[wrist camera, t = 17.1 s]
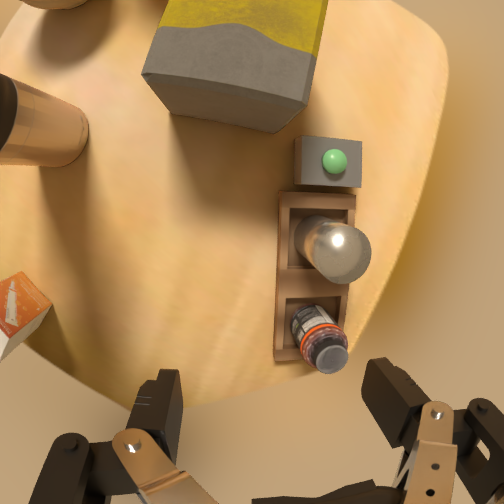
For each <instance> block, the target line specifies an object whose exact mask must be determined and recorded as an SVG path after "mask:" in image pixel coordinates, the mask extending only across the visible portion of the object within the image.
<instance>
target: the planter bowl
mask: <svg viewBox="0 0 504 504" xmlns="http://www.w3.org/2000/svg"><path fill="white" fill-rule="evenodd" d="M20 1H23V2H24V3H26V4H28V5H30V6H33V7H36V8H40V9H59V8H60V9H71V8H74V7H77V6H79V5H81V4H83V3H85V2H86V1H88V0H20Z"/></svg>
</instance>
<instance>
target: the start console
mask: <svg viewBox="0 0 504 504" xmlns="http://www.w3.org/2000/svg"><path fill="white" fill-rule="evenodd" d="M361 180H362V142H361V141H354V140H345V139H336V138H327V137H316V136H304V135H302V136H300V137H298V138H297V139H295V147H294V184H307V185H326V186H343V187H358V188H361Z"/></svg>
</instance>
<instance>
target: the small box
mask: <svg viewBox="0 0 504 504" xmlns="http://www.w3.org/2000/svg"><path fill="white" fill-rule="evenodd" d="M51 306H52V303H51V302H50V301H49V300H48V299H47V298H46V297H45V296H44V295H43V294H42V293H41V292H40V291H39V290H38V289H37V288H36V287H35V286H34V285H33V283H32V282H31V281H30V280H29V279H28V278H27V277H26V275H25V274H24V273H23V272H22V271H20V272H18V273H16V274H14V275H12V276H10V277H8V278H6V279H4V280H3V281H1V282H0V362H1V361H2V360H3V359H4V358H5V357H6V356H7V355H8V354H9V353H11V352H12V351H13V350H14V349H15V348H16V347H17V346H18V345H19V344H20V343H21V342H23V341H24V340H25V339H26V338H27V337H28V336H29V335H30V334H31V333H32V332H33V331H35V330H36V329H37V328H38V327H39V326H40V324H41V322H42V320H43V319H44V317H45V315H46V314H47V312H48V310H49V309H50V307H51Z"/></svg>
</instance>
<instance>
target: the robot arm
mask: <svg viewBox="0 0 504 504" xmlns="http://www.w3.org/2000/svg"><path fill="white" fill-rule="evenodd" d="M87 138H88V122H87V118H86V116H85V114H84V113H83V112H82V111H81V110H80V109H79V108H77V107H75V106H73V105H71V104H69V103H67V102H65V101H63V100H61V99H58V98H56V97H54V96H52V95H49V94H47V93H45V92H43V91H40V90H38V89H36V88H34V87H31V86H29V85H27V84H24V83H22V82H19V81H17V80H14V79H12V78H10V77H7V76H5V75H3V74H0V165H29V166H50V167H61V166H65V165H68V164H70V163H71V162H73V161H74V160H75V159H76V158H77V157H78V156H79V155H80V153H81V152H82V150H83V148H84V146H85V144H86V141H87ZM361 394H362V398H363V401H364V402H365V404H366V406H367V407H368V409H369V411H370V412H371V414H372V415H373V417H374V419H375V420H376V422H377V424H378V425H379V427H380V428H381V430H382V432H383V433H384V435H385V437H386V439H387V440H388V442H389V443H390V445H391V447H392V448H396V447H400V446H404V450H403V452H402V455H401V459H400V462H399V466H398V469H397V472H396V475H395V478H394V481H393V484H392V486H391V487H387V486H376V485H375V483H374V481H373V479H371V480H367V481H364V482H360V483H356V484H352V485H347V486H344V487H342V488H340V489H337V490H335V491H333V492H330V493H328V494H326V495H323V496H321V497H317V498H305V497H288V496H280V497H271V498H257V499H252V504H451V498H452V492H453V485H454V478H455V471H456V472H457V474H458V476H459V477H460V479H461V481H462V482H463V484H464V485H465V487H466V488H467V490H468V492H469V494H470V495H471V497H472V499H473V500H474V502H475V503H476V504H504V415H503V414H502V412H501V411H500V410H498V408H497V407H496V406H495V405H494V404H493V403H492V402H491V401H489V400H487V399H483V398H476V399H473V400H471V401H470V403H469V405H468V407H467V409H461V410H453V409H452V408H451V407H450V406H449V405H448V404H446V403H444V402H441V401H431V400H430V399H429V397H428V396H427V395H426V394H425V393H424V392H423V391H422V389H421V388H420V387H419V386H418V385H416V383H415V382H414V380H413V379H411V377H410V376H409V375H408V374H407V373H406V372H405V371H404V370H402V369H401V368H399V367H397V366H393V364H392V363H391V362H390V361H389V360H388V359H387V358H386V357H383V358H377V359H370V360H369V361H368V363H367V367H366V371H365V375H364V379H363V384H362V388H361ZM182 413H183V397H182V390H181V383H180V375H179V370H177V369H160V370H159V373H158V377H157V380H147V381H146V382H145V383H144V384H143V385H142V386H141V387H140V389H139V392H138V394H137V397H136V400H135V404H134V406H133V409H132V411H131V414H130V417H129V420H128V423H127V426H126V429H125V430H123V431H120V432H119V433H117V434H116V435H115V436H114V438H113V440H112V441H108V442H98V443H89V442H88V440H87V439H86V438H85V437H84V436H82V435H80V434H78V433H66V434H63V435H60V436H59V437H57V438H56V439H55V441H54V443H53V444H52V447H51V449H50V451H49V453H48V456H47V458H46V460H45V463H44V465H43V468H42V470H41V473H40V475H39V477H38V480H37V482H36V485H35V488H34V490H33V493H32V496H31V498H30V501H29V504H110V502H111V496H112V495H123V494H132V493H135V495H136V496H137V497H138V499H139V500H140V502H141V503H142V504H219V503H218V502H217V501H215V500H214V499H213V498H212V497H211V496H210V495H209V494H208V493H207V492H206V491H205V490H204V489H203V488H202V487H201V486H200V485H199V484H198V483H197V482H196V481H195V480H194V478H193V477H192V476H191V475H190V474H189V473H187V472H186V471H182V472H181V471H179V470H178V469H177V467H176V466H175V465H176V458H177V449H178V442H179V435H180V428H181V421H182ZM480 440H482V442H483V443H484V444H485V445H486V447H487V448H488V449H489V452H490V458H489V460H487V459H486V458H485V456H484V455H483V453H482V452H481V451H480V450H479V448H478V447H477V444H478V443H479V441H480Z"/></svg>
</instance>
